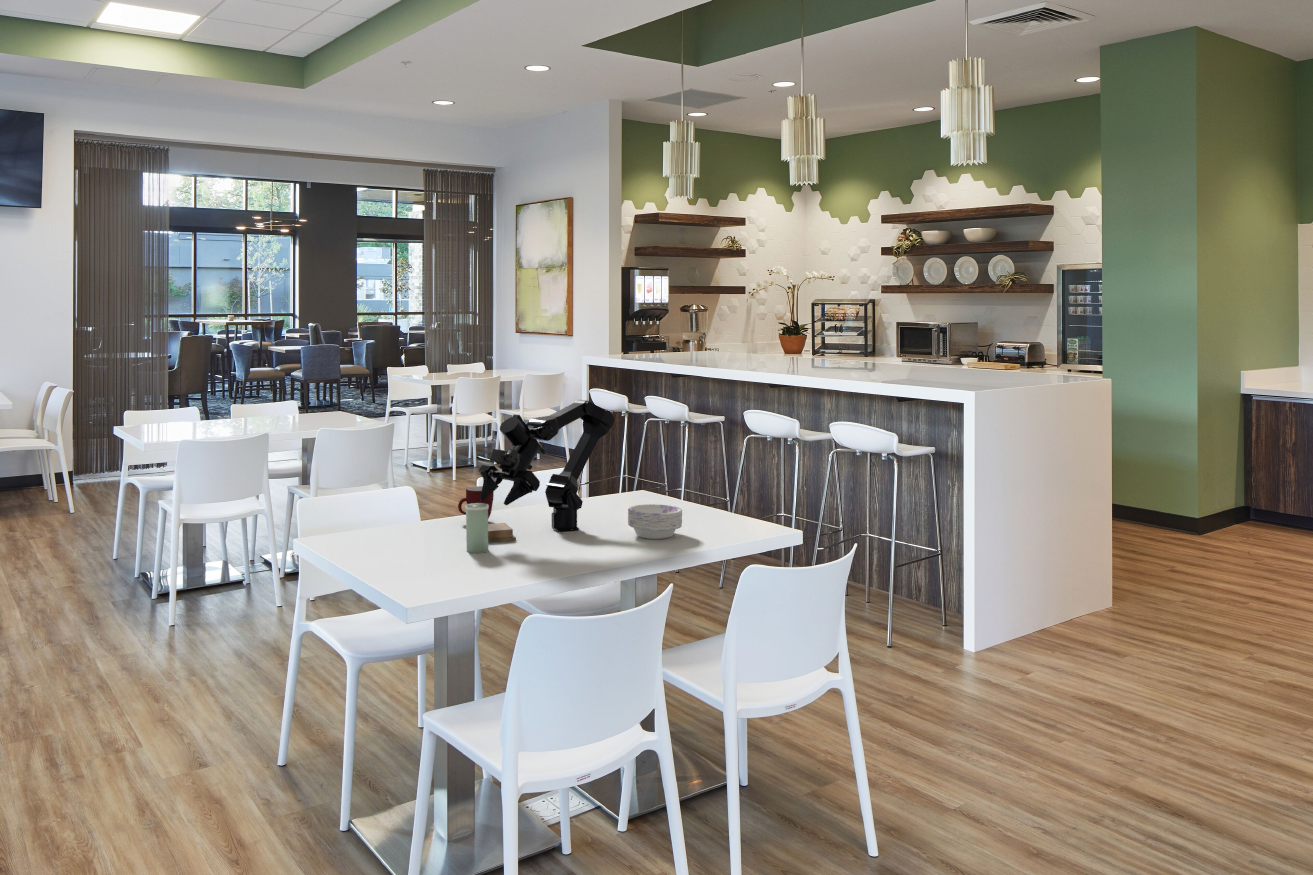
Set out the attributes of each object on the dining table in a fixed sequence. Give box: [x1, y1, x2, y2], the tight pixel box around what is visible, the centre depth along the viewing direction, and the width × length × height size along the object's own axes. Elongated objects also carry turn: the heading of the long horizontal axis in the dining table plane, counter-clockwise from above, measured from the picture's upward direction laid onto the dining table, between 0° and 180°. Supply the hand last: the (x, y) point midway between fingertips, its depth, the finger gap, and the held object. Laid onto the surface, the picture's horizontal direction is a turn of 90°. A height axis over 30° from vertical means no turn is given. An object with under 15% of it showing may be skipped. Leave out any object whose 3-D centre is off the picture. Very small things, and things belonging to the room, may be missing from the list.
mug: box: [457, 485, 495, 520], centre depth 294 cm, size 10×8×10 cm
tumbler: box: [464, 503, 489, 554], centre depth 260 cm, size 6×6×12 cm
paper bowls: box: [627, 503, 683, 540], centre depth 278 cm, size 15×15×8 cm
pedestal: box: [488, 522, 517, 544], centre depth 275 cm, size 10×10×3 cm
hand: (492, 502), depth 263 cm, fingers open, 9 cm apart
